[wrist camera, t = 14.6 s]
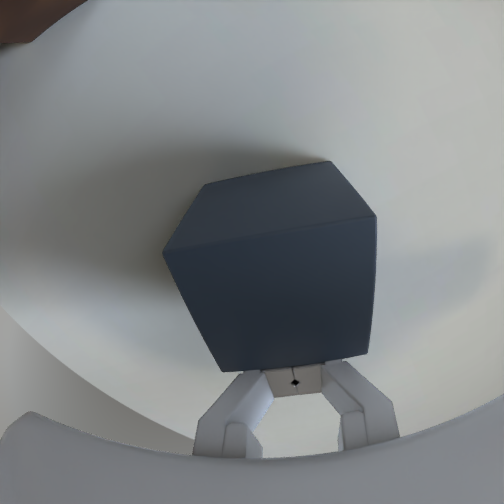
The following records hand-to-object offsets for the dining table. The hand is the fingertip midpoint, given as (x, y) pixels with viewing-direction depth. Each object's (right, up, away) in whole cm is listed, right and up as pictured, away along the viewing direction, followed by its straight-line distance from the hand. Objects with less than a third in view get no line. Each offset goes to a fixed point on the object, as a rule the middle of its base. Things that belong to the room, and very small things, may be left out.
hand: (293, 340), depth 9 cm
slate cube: (0, +4, +1) cm, 4 cm away
